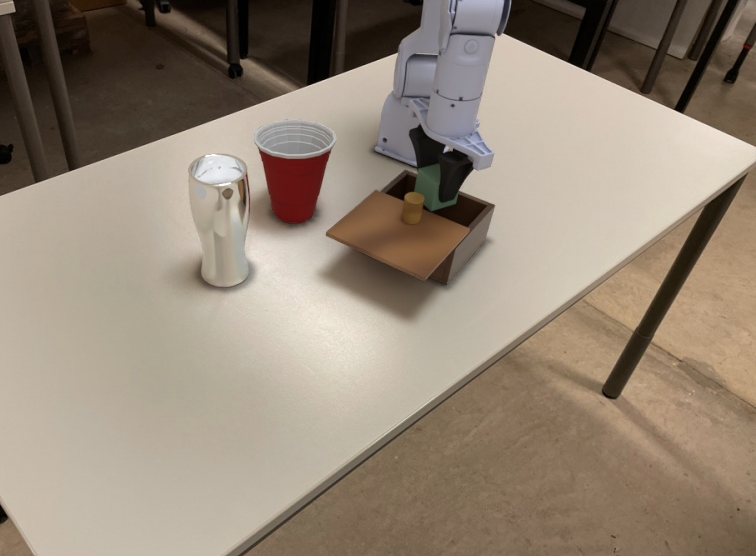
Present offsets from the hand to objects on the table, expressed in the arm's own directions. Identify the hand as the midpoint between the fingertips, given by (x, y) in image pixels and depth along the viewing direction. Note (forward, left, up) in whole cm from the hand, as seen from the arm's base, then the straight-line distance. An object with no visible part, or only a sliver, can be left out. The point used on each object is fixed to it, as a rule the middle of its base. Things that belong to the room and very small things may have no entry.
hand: (436, 190), depth 85 cm
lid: (0, -10, -1) cm, 10 cm away
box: (0, -1, -8) cm, 8 cm away
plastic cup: (-18, -6, -8) cm, 21 cm away
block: (0, 0, -1) cm, 1 cm away
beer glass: (-17, -22, -8) cm, 29 cm away
